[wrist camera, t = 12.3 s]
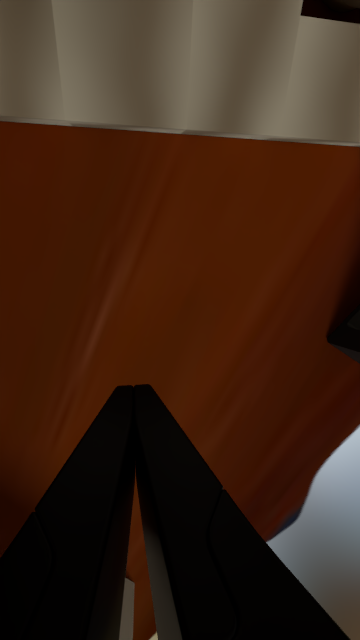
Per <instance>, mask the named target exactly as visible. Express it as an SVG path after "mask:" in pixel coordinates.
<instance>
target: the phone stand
mask: <svg viewBox="0 0 360 640" xmlns="http://www.w3.org/2000/svg"><path fill="white" fill-rule="evenodd" d="M327 341H328V343H330V344H331V345H333V346H334V347H336V348H337V349H339V350H340V351H342V352H343V353H345V354H346V355H348V356H349V357H351V358H352V359H354V360H355V361H357V362H358V363H360V305H359V306H358V307H357V308H356V309H355V310H354V311H353V312H352V313H351V314H350V315H349V316H348V317H347V318H346V319H345V320H344V321H343V322H342V323H341V324H340V325H339V326H338V327H337V329H336V330H335V331H334V332H333V333H332V334H331V335H330V336H329V337H328V338H327Z"/></svg>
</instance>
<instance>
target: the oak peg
mask: <svg viewBox="0 0 360 640" xmlns="http://www.w3.org/2000/svg"><path fill="white" fill-rule="evenodd" d="M323 1H324V3H325V4H326V5H327V6H328V7H329V8H330V9H332V10H334V11H336V12H348V11H351V10H353V9H355V8H360V0H323Z"/></svg>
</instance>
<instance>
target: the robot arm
mask: <svg viewBox="0 0 360 640" xmlns="http://www.w3.org/2000/svg"><path fill="white" fill-rule="evenodd" d="M135 466H136V481H137V489H138V497H139V504H140V511H141V519H142V526H143V533H144V540H145V548H146V555H147V562H148V569H149V577H150V584H151V591H152V598H153V606H154V613H155V620H156V628H157V635H158V640H350V638H349V637H348V636H347V635H346V634H345V633H344V631H343V630H342V629H341V628H340V627H339V626H338V625H337V624H336V623H335V621H334V620H333V619H332V618H331V617H330V616H329V614H328V613H327V612H326V611H325V610H324V609H323V608H322V607H321V605H320V604H319V603H318V602H317V601H316V600H315V599H314V597H313V596H312V595H311V594H310V593H309V592H308V591H307V590H306V589H305V588H304V586H303V585H302V584H301V583H300V582H299V580H298V579H297V578H296V577H295V576H294V575H293V574H292V572H291V571H290V570H289V569H288V568H287V567H286V566H285V565H284V563H283V562H282V561H281V560H280V559H279V558H278V557H277V555H276V554H275V553H274V552H273V551H272V549H271V548H270V547H269V546H268V545H267V543H266V542H265V541H264V540H263V539H262V537H261V536H260V535H259V534H258V533H257V531H256V530H255V529H254V528H253V526H252V525H251V524H250V522H249V521H248V520H247V518H246V517H245V516H244V514H243V513H242V512H241V510H240V509H239V508H238V506H237V505H236V504H235V502H234V501H233V499H232V498H231V497H230V495H229V494H228V492H227V491H226V490H225V489H223V486H222V484H221V483H220V482H219V480H218V479H217V477H216V476H215V475H214V473H213V472H212V470H211V469H210V468H209V466H208V465H207V463H206V462H205V461H204V459H203V458H202V456H201V455H200V454H199V452H198V451H197V449H196V448H195V447H194V445H193V444H192V442H191V441H190V440H189V438H188V437H187V435H186V434H185V433H184V431H183V430H182V428H181V427H180V426H179V424H178V423H177V421H176V420H175V419H174V417H173V416H172V414H171V413H170V412H169V410H168V409H167V407H166V406H165V405H164V403H163V402H162V400H161V399H160V398H159V396H158V395H157V393H156V392H155V391H154V389H153V388H152V386H151V385H149V384H142V385H135V386H134V388H133V386H132V385H125V386H117V387H116V388H115V390H114V391H113V393H112V394H111V396H110V397H109V399H108V400H107V402H106V403H105V405H104V406H103V408H102V409H101V410H100V412H99V413H98V415H97V416H96V418H95V419H94V421H93V422H92V424H91V425H90V427H89V428H88V430H87V431H86V433H85V434H84V436H83V437H82V439H81V440H80V442H79V443H78V445H77V446H76V448H75V449H74V451H73V452H72V454H71V455H70V457H69V458H68V460H67V461H66V463H65V464H64V466H63V467H62V469H61V470H60V472H59V473H58V475H57V476H56V478H55V479H54V481H53V482H52V484H51V485H50V487H49V488H48V490H47V491H46V492H45V494H44V495H43V497H42V498H41V500H40V501H39V503H38V504H37V506H36V507H35V512H32V513H31V514H30V516H29V517H28V519H27V520H26V522H25V523H24V525H23V526H22V528H21V529H20V531H19V532H18V534H17V535H16V537H15V538H14V540H13V541H12V543H11V544H10V545H9V547H8V548H7V550H6V551H5V552H4V554H3V555H2V557H1V558H0V640H119V634H120V624H121V614H122V604H123V595H124V585H125V575H126V565H127V555H128V545H129V535H130V525H131V515H132V505H133V495H134V485H135Z"/></svg>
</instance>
